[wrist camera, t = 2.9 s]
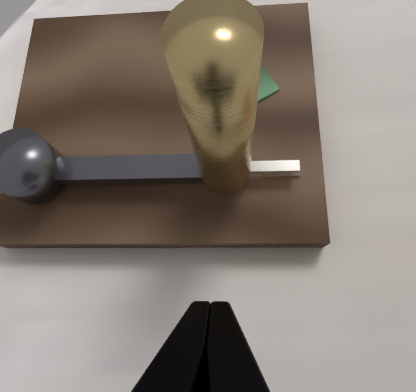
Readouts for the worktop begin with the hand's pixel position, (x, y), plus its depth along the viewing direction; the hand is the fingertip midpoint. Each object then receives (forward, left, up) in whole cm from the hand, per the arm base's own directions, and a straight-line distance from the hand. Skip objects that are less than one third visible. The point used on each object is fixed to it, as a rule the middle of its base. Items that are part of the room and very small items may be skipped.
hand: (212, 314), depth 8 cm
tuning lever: (+6, +6, -10) cm, 13 cm away
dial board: (+10, +7, -11) cm, 17 cm away
